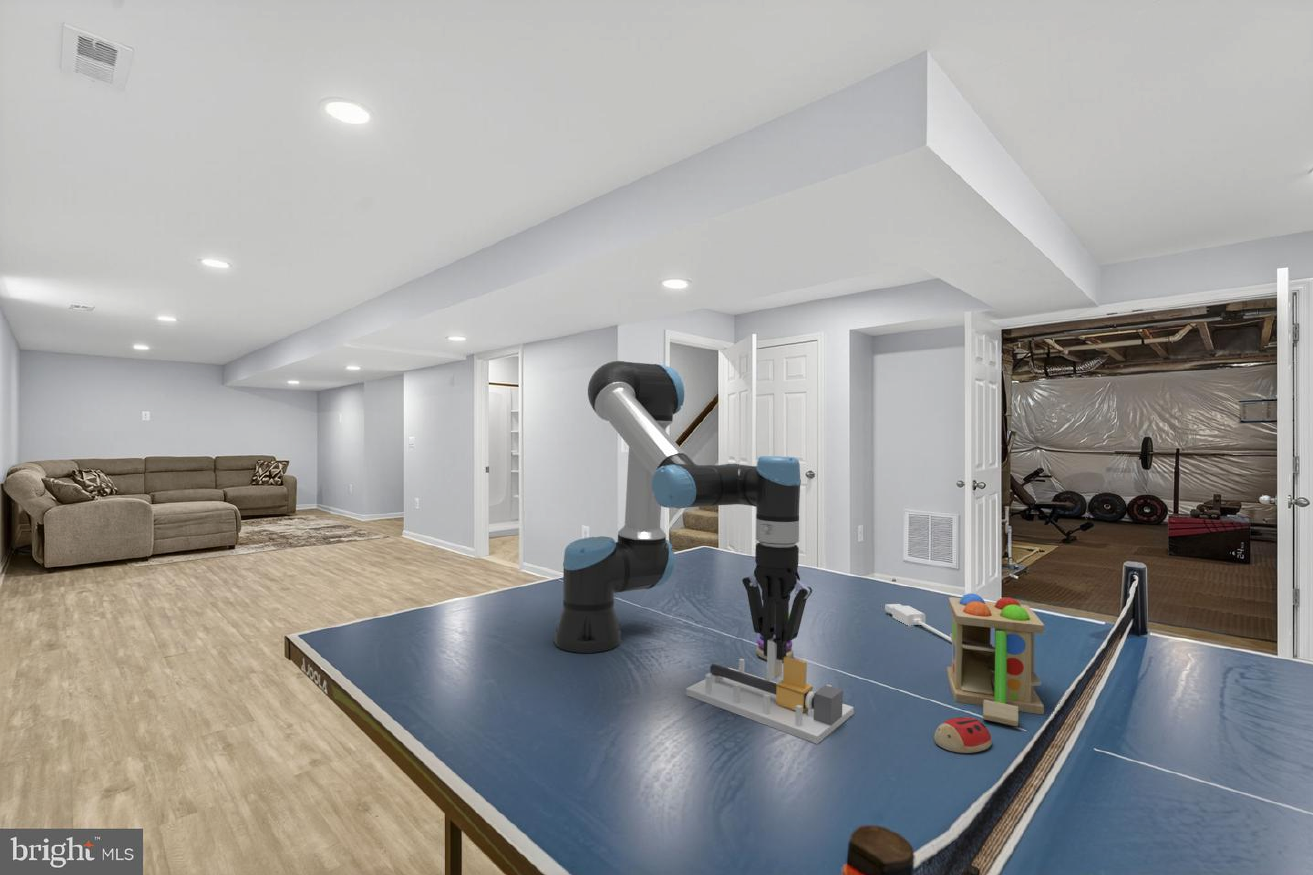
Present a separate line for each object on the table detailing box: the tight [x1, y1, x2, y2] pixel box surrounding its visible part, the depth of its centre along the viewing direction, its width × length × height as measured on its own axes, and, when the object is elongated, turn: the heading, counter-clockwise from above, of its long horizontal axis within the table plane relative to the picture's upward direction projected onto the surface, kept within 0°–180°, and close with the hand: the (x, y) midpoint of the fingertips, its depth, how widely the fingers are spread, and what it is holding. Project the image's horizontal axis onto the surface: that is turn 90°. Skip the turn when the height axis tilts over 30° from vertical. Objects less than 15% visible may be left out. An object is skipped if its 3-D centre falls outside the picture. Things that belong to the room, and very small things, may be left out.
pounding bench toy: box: [946, 592, 1045, 727], centre depth 111 cm, size 23×14×18 cm, turn 159°
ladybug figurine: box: [933, 716, 993, 754], centre depth 96 cm, size 7×10×4 cm
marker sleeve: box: [776, 656, 814, 713], centre depth 105 cm, size 5×4×8 cm
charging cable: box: [884, 603, 952, 643], centre depth 151 cm, size 5×32×3 cm, turn 12°
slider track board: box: [685, 658, 855, 745], centre depth 108 cm, size 26×14×6 cm, turn 49°
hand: (774, 675), depth 107 cm, fingers closed
